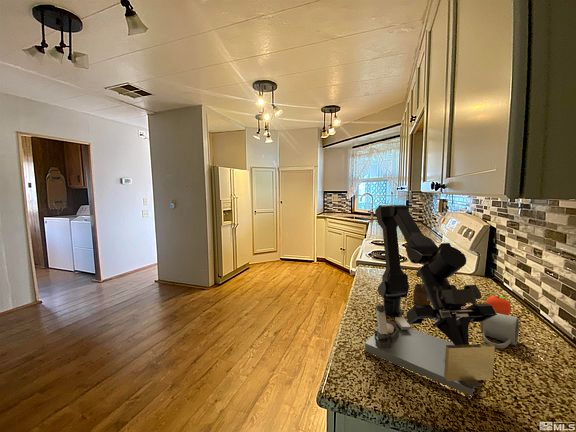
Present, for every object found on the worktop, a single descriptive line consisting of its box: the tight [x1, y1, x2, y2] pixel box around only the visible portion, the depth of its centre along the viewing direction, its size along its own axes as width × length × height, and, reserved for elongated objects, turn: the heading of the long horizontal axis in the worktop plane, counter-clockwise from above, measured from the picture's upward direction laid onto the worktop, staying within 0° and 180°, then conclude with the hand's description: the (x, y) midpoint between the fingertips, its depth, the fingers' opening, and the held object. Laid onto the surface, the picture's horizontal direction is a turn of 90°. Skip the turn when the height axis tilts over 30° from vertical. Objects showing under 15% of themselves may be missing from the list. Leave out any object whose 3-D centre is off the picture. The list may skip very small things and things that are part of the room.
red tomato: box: [485, 295, 512, 316], centre depth 87 cm, size 8×7×7 cm
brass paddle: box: [444, 343, 496, 387], centre depth 54 cm, size 3×10×8 cm, turn 92°
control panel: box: [364, 320, 476, 397], centre depth 66 cm, size 16×24×4 cm
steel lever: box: [375, 304, 390, 340], centre depth 68 cm, size 2×3×9 cm
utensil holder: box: [412, 277, 431, 306], centre depth 97 cm, size 6×6×12 cm
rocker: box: [394, 316, 412, 330], centre depth 75 cm, size 4×3×1 cm, turn 2°
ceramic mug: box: [479, 313, 520, 349], centre depth 73 cm, size 11×8×8 cm
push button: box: [387, 323, 394, 335], centre depth 72 cm, size 4×4×2 cm
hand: (466, 354), depth 54 cm, fingers closed, pressing on brass paddle
